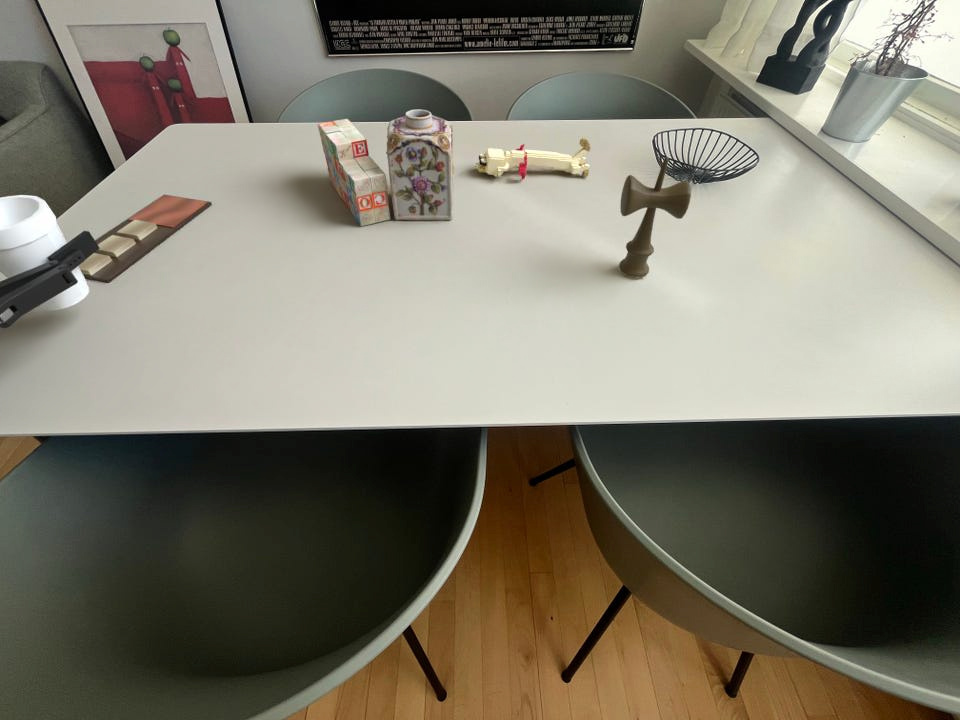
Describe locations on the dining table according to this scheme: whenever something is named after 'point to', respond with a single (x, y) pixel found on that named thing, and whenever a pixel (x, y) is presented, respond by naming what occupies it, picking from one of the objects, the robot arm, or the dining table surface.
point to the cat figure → (533, 160)
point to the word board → (139, 236)
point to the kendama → (649, 216)
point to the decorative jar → (421, 166)
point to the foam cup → (34, 244)
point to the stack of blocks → (354, 172)
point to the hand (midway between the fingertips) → (59, 235)
